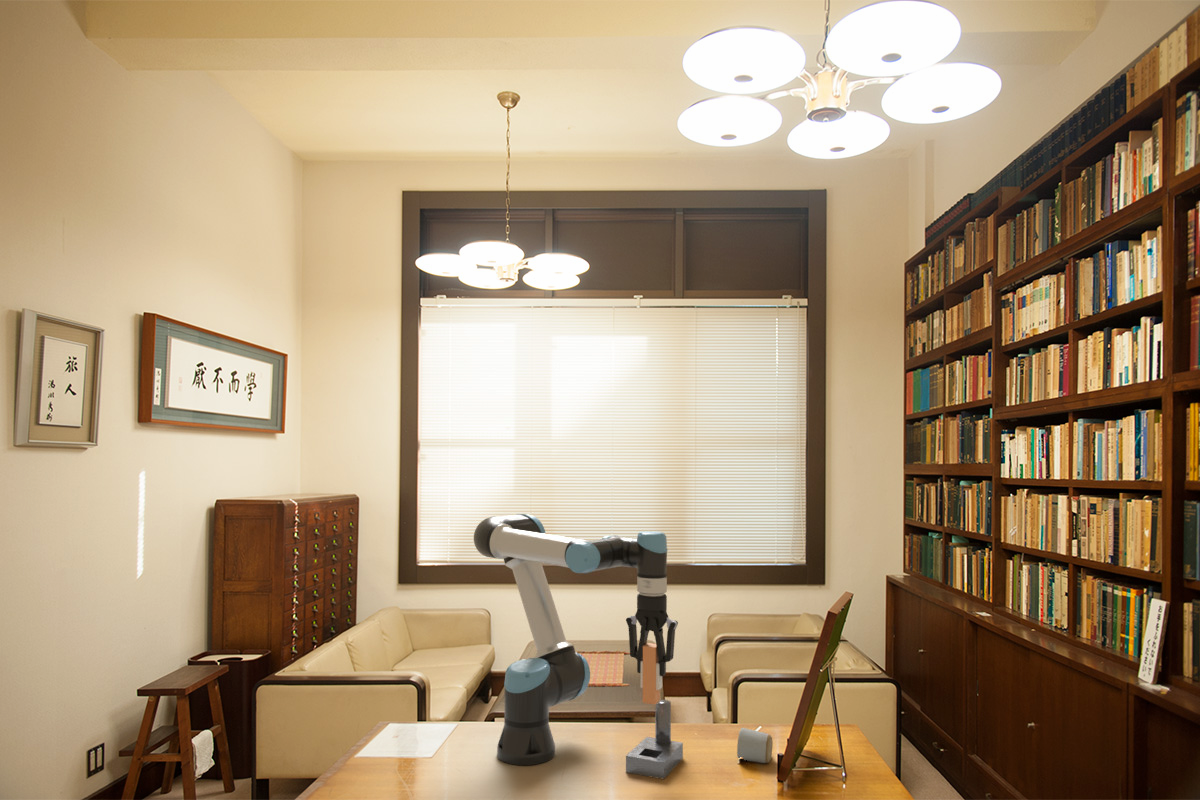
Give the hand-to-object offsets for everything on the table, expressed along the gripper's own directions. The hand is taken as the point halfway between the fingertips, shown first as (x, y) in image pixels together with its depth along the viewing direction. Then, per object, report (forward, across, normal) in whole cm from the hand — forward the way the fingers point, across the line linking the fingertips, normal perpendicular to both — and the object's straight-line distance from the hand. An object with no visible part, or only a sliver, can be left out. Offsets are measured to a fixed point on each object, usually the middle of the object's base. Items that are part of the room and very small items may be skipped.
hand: (651, 687), depth 199 cm
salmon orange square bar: (+4, 0, 0) cm, 4 cm away
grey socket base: (+20, 0, +3) cm, 20 cm away
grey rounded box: (+20, +22, +18) cm, 35 cm away
